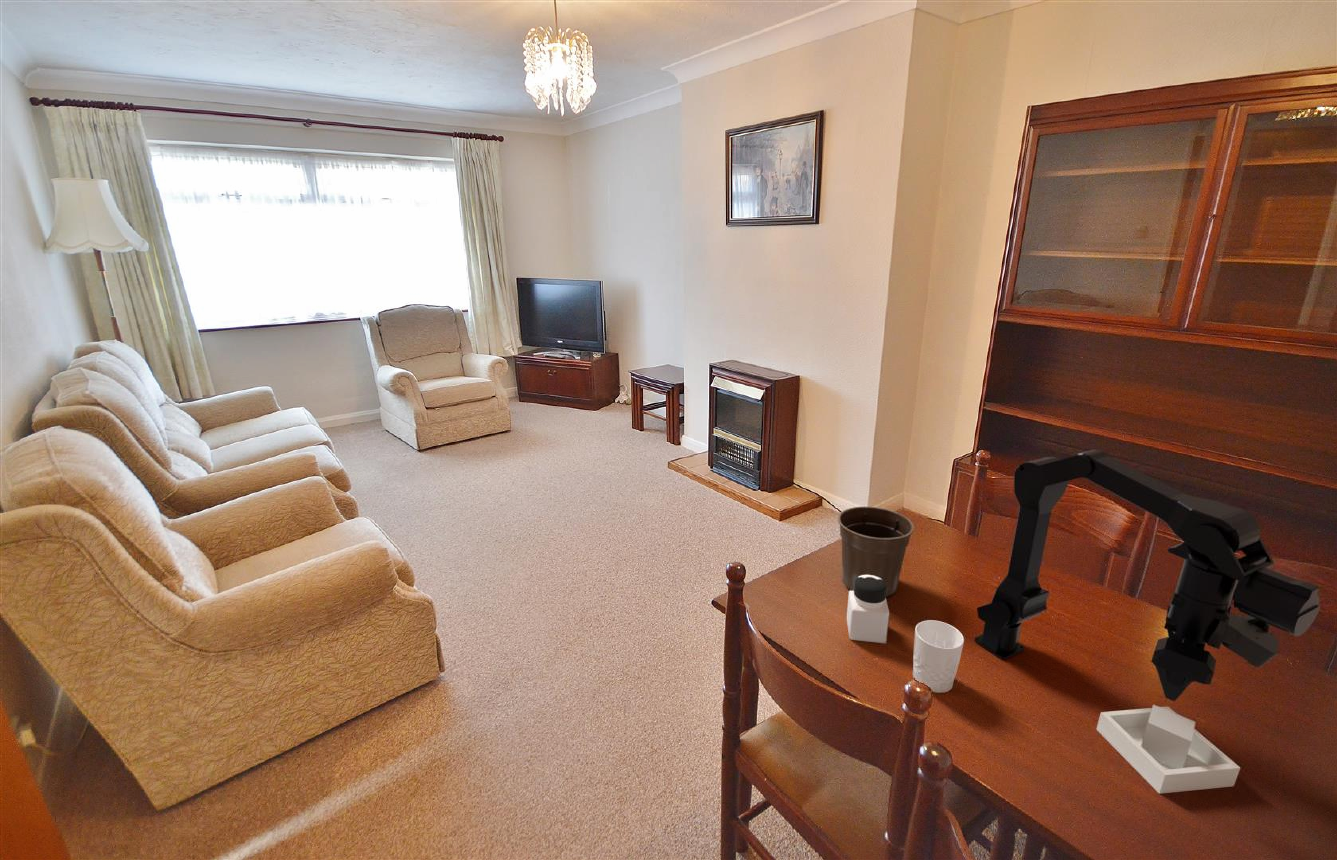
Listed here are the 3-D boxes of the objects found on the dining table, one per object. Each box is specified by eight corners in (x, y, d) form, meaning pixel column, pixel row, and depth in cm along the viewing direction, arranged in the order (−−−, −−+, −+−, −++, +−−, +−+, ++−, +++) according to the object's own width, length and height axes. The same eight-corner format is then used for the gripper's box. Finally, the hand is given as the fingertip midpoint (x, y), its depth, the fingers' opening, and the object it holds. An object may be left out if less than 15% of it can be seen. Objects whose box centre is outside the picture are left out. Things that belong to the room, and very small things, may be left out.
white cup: (953, 670, 108) (961, 624, 105) (959, 700, 101) (966, 652, 98) (908, 661, 111) (914, 616, 108) (910, 690, 104) (916, 643, 101)
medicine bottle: (886, 644, 116) (892, 592, 112) (849, 640, 117) (854, 588, 113) (881, 622, 122) (887, 572, 118) (846, 618, 124) (850, 569, 120)
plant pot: (847, 558, 147) (852, 499, 142) (914, 577, 138) (922, 516, 133) (822, 588, 134) (827, 526, 129) (894, 612, 125) (902, 546, 120)
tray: (1233, 786, 85) (1240, 767, 84) (1159, 793, 84) (1165, 775, 83) (1162, 723, 96) (1168, 706, 95) (1096, 729, 95) (1100, 712, 94)
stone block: (1181, 773, 86) (1191, 741, 84) (1138, 753, 90) (1148, 722, 88) (1185, 753, 90) (1195, 722, 88) (1144, 734, 93) (1153, 704, 91)
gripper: (1283, 652, 70) (1245, 752, 75) (1284, 588, 83) (1251, 677, 88) (1165, 613, 78) (1137, 705, 83) (1183, 559, 90) (1157, 643, 95)
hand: (1174, 682), depth 87 cm, fingers open, 9 cm apart
